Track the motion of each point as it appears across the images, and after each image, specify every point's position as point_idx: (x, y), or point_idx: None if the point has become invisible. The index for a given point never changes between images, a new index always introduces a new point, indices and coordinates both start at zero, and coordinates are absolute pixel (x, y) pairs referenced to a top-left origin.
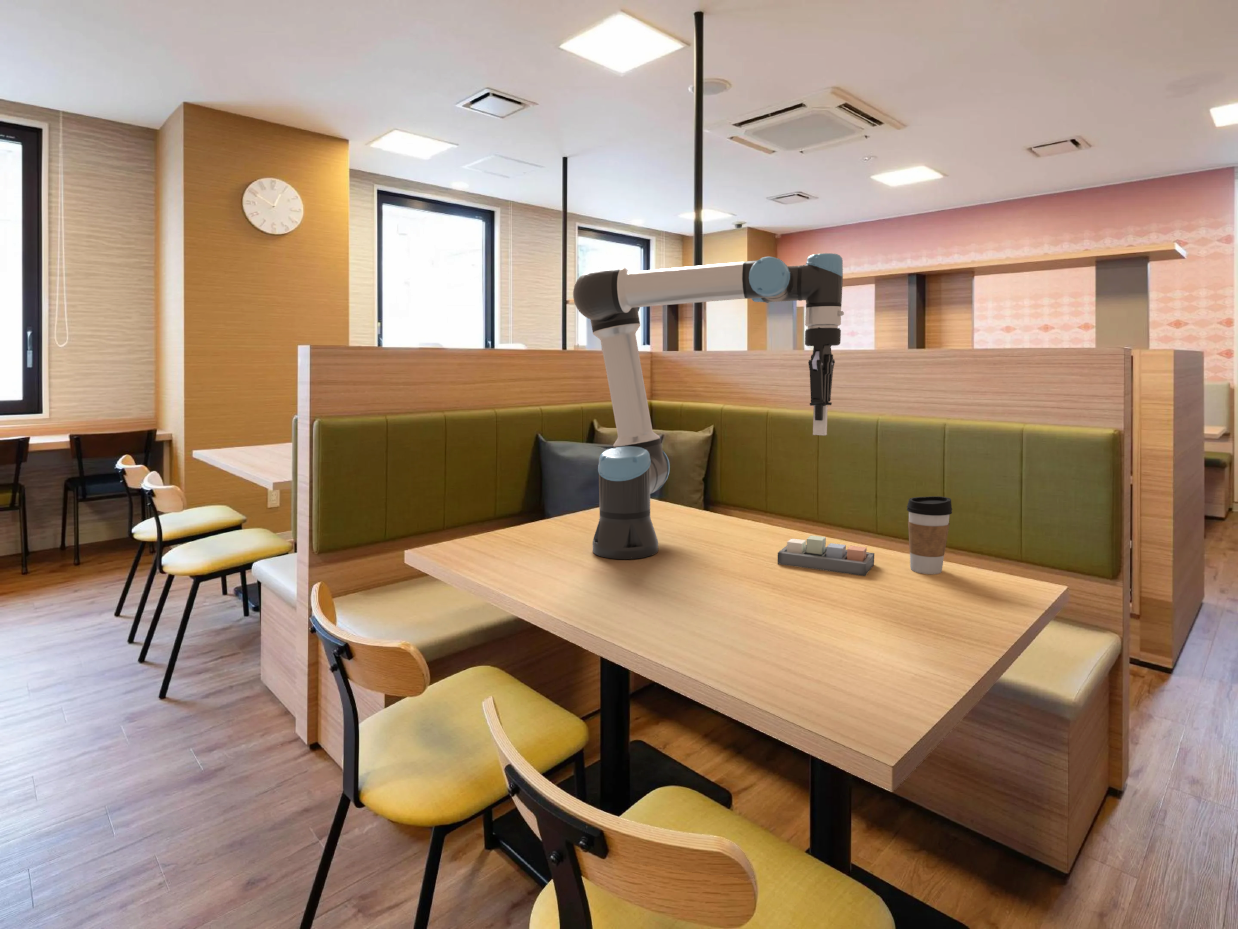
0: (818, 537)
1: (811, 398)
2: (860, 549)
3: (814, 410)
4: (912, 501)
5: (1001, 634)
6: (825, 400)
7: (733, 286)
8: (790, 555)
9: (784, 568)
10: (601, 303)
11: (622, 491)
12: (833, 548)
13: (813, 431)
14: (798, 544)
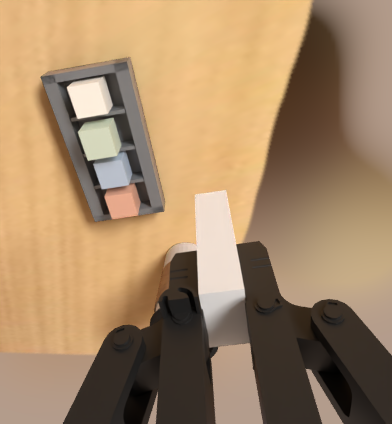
0: (103, 146)
1: (97, 360)
2: (118, 212)
3: (199, 277)
4: None
5: (27, 346)
6: (254, 362)
7: None
8: (50, 103)
9: (36, 95)
10: None
11: None
12: (97, 175)
13: (195, 205)
14: (75, 111)
